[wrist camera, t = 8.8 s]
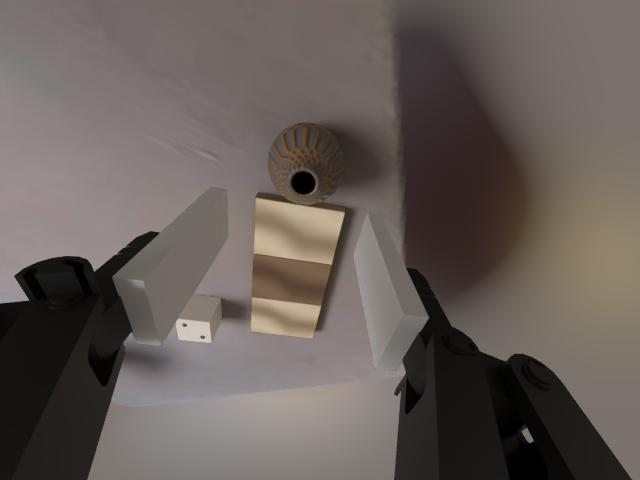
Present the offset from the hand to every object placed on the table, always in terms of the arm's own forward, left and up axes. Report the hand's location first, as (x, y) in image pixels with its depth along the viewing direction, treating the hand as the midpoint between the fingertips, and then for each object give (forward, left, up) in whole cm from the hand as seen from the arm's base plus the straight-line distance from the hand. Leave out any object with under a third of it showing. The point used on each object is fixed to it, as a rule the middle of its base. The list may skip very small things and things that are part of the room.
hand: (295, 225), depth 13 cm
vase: (0, 0, -15) cm, 15 cm away
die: (+25, -12, -15) cm, 32 cm away
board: (+16, 0, -15) cm, 22 cm away
